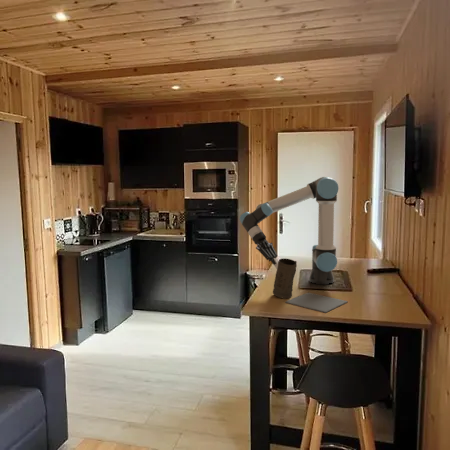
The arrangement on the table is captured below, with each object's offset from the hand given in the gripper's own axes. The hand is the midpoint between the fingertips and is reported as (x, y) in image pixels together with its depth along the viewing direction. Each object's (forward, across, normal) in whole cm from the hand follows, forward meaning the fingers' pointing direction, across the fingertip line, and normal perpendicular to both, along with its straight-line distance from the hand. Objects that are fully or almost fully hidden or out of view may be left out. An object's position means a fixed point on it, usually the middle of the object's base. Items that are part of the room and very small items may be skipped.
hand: (279, 268), depth 232 cm
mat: (+27, -2, +6) cm, 27 cm away
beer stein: (+11, -2, -8) cm, 14 cm away
